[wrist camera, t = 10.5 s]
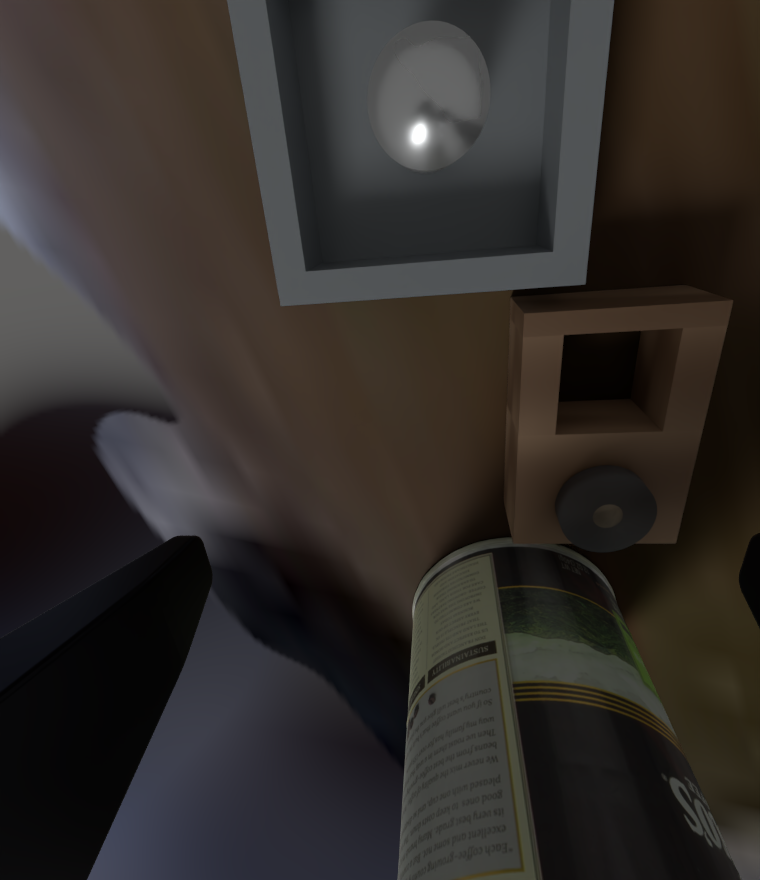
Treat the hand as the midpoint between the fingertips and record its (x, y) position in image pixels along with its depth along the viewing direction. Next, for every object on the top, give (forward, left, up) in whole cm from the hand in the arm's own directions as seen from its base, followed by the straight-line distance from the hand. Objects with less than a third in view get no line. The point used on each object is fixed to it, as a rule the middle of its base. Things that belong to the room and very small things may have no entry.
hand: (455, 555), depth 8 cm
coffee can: (-14, -3, -12) cm, 19 cm away
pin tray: (+8, +1, -12) cm, 14 cm away
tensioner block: (-2, -5, -12) cm, 13 cm away
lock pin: (+7, 0, -12) cm, 14 cm away
